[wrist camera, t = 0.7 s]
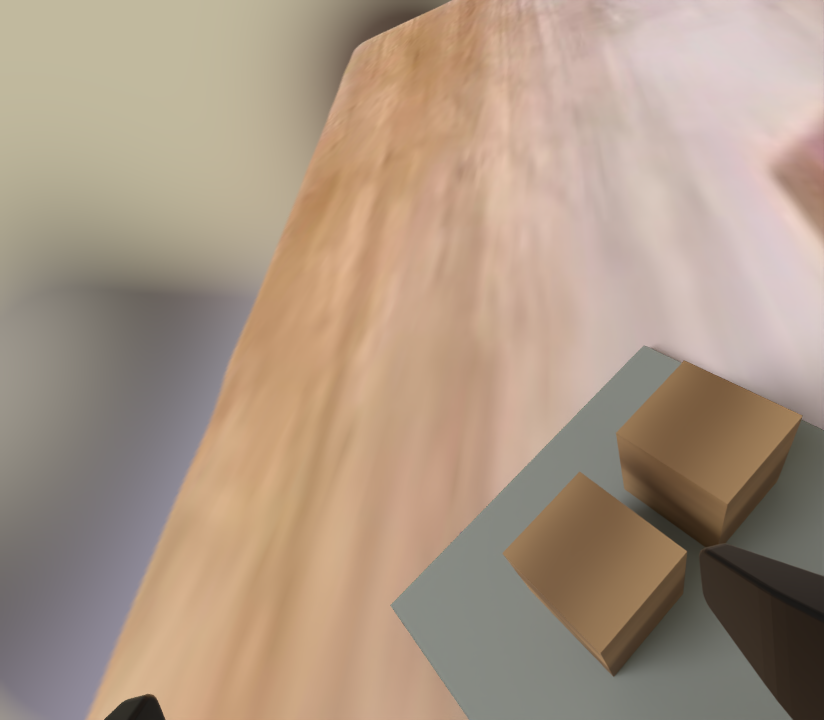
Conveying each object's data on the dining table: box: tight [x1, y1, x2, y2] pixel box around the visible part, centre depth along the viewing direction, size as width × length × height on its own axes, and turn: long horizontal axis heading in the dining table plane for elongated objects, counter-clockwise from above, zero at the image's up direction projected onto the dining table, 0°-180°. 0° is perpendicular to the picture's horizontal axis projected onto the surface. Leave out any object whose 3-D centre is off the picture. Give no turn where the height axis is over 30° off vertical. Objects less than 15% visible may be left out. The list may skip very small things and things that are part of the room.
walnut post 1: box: [502, 471, 687, 677], centre depth 17 cm, size 4×4×5 cm
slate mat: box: [390, 346, 824, 720], centre depth 17 cm, size 20×18×1 cm
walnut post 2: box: [616, 361, 802, 547], centre depth 18 cm, size 4×4×5 cm
